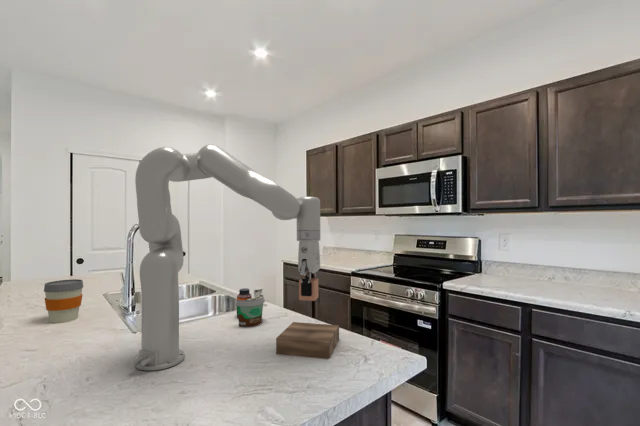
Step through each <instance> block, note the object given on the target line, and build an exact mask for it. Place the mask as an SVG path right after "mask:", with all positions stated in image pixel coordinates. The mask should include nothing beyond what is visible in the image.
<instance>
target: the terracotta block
mask: <svg viewBox="0 0 640 426" xmlns="http://www.w3.org/2000/svg"><path fill="white" fill-rule="evenodd" d="M310 283H312V295H311V296H302V295H301V279H298V300H299V301H307V302H308V301H310V302H315V301H316V300H317V299H319V278H318V277H316V278H311V282H310Z"/></svg>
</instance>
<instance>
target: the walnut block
mask: <svg viewBox="0 0 640 426" xmlns="http://www.w3.org/2000/svg"><path fill="white" fill-rule="evenodd" d="M339 340H340V325H339V324H323V323H312V322H311V323H310V322H298V321H293V322H292V323H290V324H289V325H288V327H286V329H284V330H283V331H282V332H281V333H280V334H279V335H278V336H277V337H276V338H275V353H276V355H285V356H295V357H304V358H315V359H323V360H325V359H326V360H329V359H330V358H331V356H332V354H333V352H334V350H335V349H336V346H337V344H338V343H339Z"/></svg>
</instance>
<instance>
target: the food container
mask: <svg viewBox="0 0 640 426" xmlns="http://www.w3.org/2000/svg"><path fill="white" fill-rule="evenodd" d="M265 302H266V299H265V297H264V295H263V294H259V295H258V296H256V297H252V298H248V299H246V300H237V299H236V302H235V306H236V309H237V308H238V317H237V319H238V320H237V321H238V327H241V328H252V327H257V326H261V324H262V322H263V321H262V320H263V310H264V303H265Z"/></svg>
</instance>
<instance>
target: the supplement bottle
mask: <svg viewBox="0 0 640 426" xmlns="http://www.w3.org/2000/svg"><path fill="white" fill-rule="evenodd" d="M238 293H239V294H237V295H236V301H237V300H246V299H248V298H253V296H252V293H250V288H246V287H245V288H239V291H238ZM236 318H238V308H237V307H236Z"/></svg>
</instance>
